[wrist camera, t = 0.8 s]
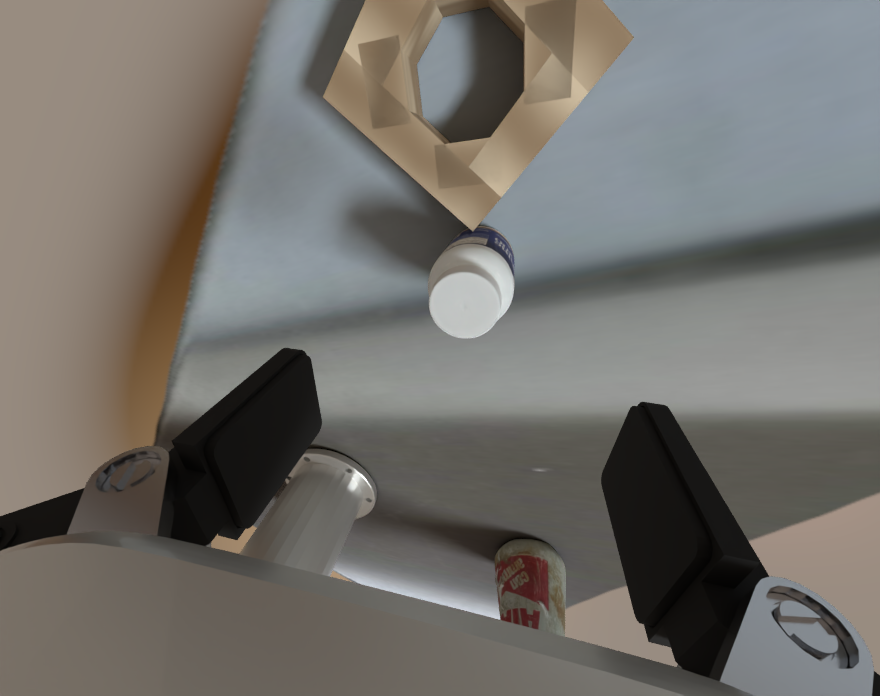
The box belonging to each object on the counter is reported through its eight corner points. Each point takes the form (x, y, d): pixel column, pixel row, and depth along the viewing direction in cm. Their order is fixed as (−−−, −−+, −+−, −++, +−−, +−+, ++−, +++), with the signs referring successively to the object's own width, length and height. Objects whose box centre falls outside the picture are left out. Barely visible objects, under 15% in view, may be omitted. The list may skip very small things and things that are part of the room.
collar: (477, 222, 25) (472, 231, 22) (347, 104, 23) (322, 97, 20) (615, 55, 19) (634, 37, 16) (458, -124, 17) (445, -182, 14)
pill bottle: (519, 285, 27) (520, 343, 19) (455, 297, 29) (430, 355, 20) (508, 216, 25) (505, 247, 16) (439, 233, 26) (404, 269, 18)
